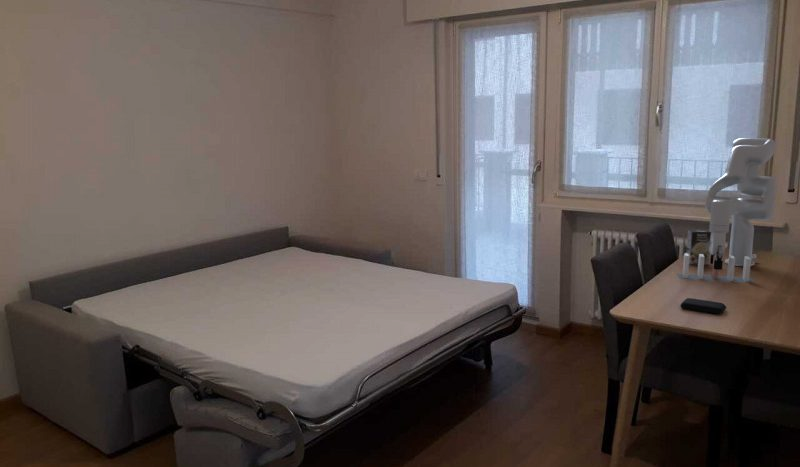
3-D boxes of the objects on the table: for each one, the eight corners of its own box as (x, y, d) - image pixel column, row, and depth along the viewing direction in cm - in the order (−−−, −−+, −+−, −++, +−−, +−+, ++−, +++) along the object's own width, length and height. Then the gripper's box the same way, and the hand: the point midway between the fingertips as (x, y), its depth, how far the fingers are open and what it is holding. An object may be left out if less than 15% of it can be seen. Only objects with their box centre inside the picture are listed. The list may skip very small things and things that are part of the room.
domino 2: (698, 278, 272) (700, 256, 270) (697, 275, 276) (698, 254, 274) (702, 278, 271) (704, 256, 269) (701, 276, 276) (702, 254, 274)
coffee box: (689, 264, 297) (692, 231, 294) (684, 261, 304) (687, 229, 300) (709, 264, 297) (712, 232, 293) (704, 261, 303) (706, 229, 300)
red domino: (713, 279, 270) (715, 257, 268) (711, 276, 275) (713, 254, 273) (717, 279, 269) (719, 257, 267) (715, 276, 274) (717, 254, 272)
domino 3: (729, 280, 268) (731, 258, 266) (727, 277, 273) (729, 255, 271) (733, 280, 268) (735, 258, 266) (731, 277, 272) (733, 255, 270)
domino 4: (744, 281, 266) (746, 258, 264) (742, 278, 271) (744, 256, 269) (748, 281, 266) (751, 259, 264) (746, 278, 270) (748, 256, 268)
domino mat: (678, 279, 273) (678, 278, 273) (676, 274, 280) (676, 273, 280) (755, 283, 264) (755, 283, 264) (751, 279, 271) (751, 278, 271)
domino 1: (683, 277, 274) (685, 255, 272) (682, 274, 278) (684, 253, 276) (687, 278, 273) (689, 256, 271) (686, 275, 278) (688, 253, 276)
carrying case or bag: (727, 309, 233) (685, 303, 241) (728, 301, 232) (686, 295, 241) (722, 317, 224) (678, 310, 233) (722, 309, 224) (679, 302, 232)
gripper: (706, 224, 277) (703, 261, 280) (712, 231, 261) (709, 270, 264) (725, 225, 274) (721, 262, 278) (732, 232, 258) (729, 272, 262)
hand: (715, 266), depth 271 cm, fingers open, 9 cm apart
